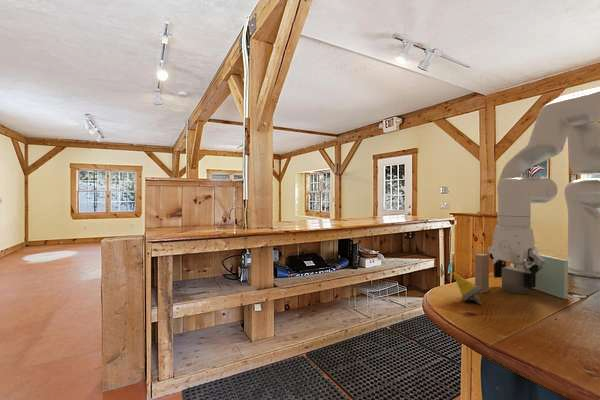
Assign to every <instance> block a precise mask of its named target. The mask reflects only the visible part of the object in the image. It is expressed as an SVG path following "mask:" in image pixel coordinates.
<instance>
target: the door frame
mask: <svg viewBox="0 0 600 400" xmlns="http://www.w3.org/2000/svg"><path fill="white" fill-rule="evenodd" d="M538 249H539V247H538V245H536V244H535V252H536V253H537V254H539V252H538ZM489 255H490V254H489V253H476V254H474V285H476V286H480V287H481V288H482V290H481V291H479V292H478V293H480V294H484V293H483V292H485V293H489V292H490V286H489V285H490V274H489V273H490V272H489V271H490V269H489V268H490V256H489ZM488 291H489V292H488Z"/></svg>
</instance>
